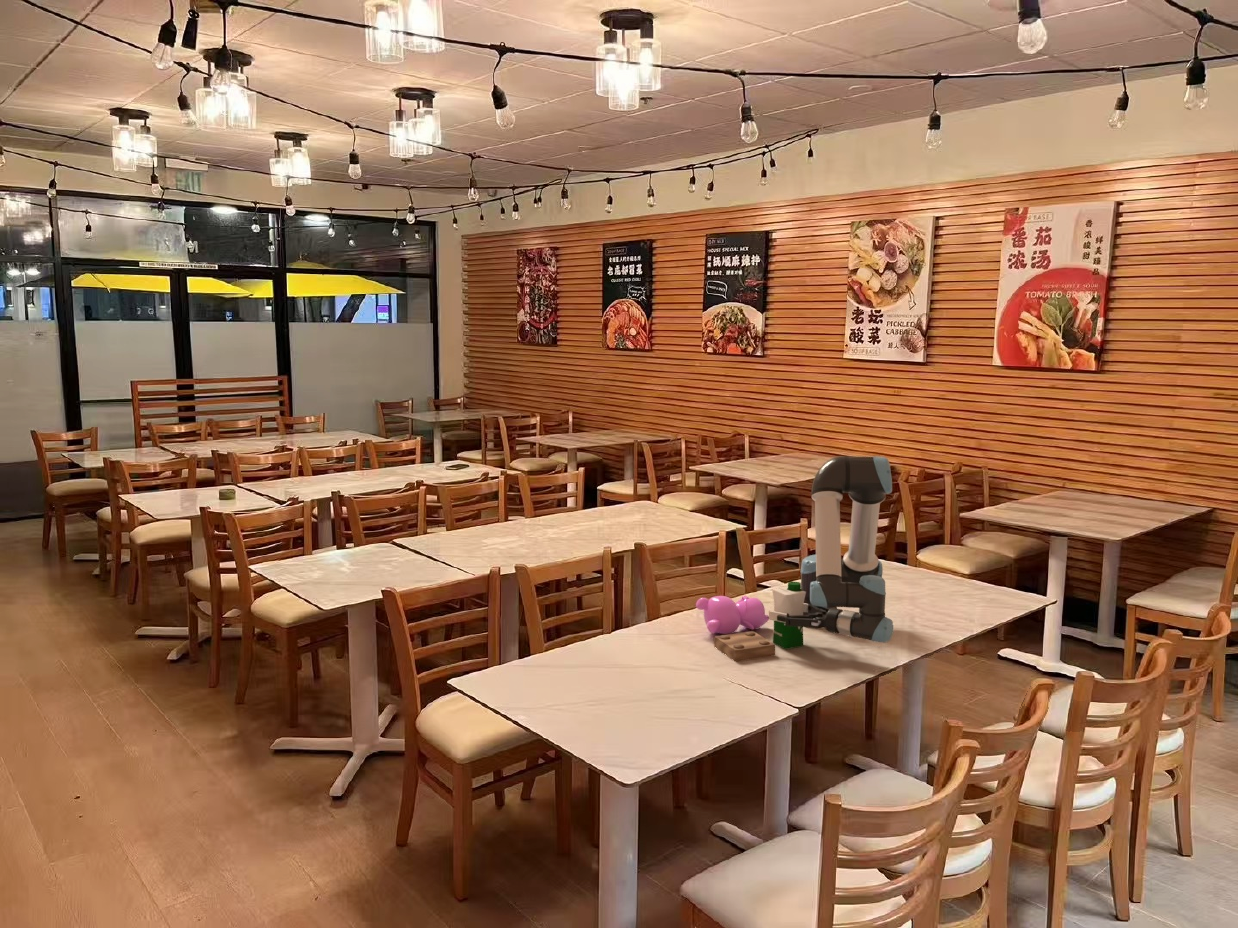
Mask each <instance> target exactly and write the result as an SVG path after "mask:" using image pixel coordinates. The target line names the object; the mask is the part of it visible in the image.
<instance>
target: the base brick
mask: <svg viewBox="0 0 1238 928" xmlns="http://www.w3.org/2000/svg"><path fill="white" fill-rule="evenodd" d="M713 641H714V642H713V643H714V645H713V646H714V648H715V647H716V648H717V649H716V648H715V649H716V650H718V651H719V652H720V651H721V653H722V654H723V653H724V654H723V655H725V654H726V655H727V656H726V655H725V656H726V657H728V658H729V659H731V660H732V659H733V660H734V662H735V661H736V662H742V661H741V660H743V661H749V660H754V659H761V658H768V657H775V656H776V644H774V643H773V641H770V640H768V639H767V638H765V637H763V636H762V635H760V634H758V632H755V631H754V630H751V631H744V632H743V631H742V632H737V633H731V634H721V635H716V636H714V640H713ZM774 655H775V656H774ZM748 659H749V660H748ZM733 660H732V661H733Z"/></svg>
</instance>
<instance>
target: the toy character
mask: <svg viewBox="0 0 1238 928" xmlns="http://www.w3.org/2000/svg"><path fill="white" fill-rule="evenodd" d="M695 607H696V609H697V610H699V611H703V619H704V622H705V625H706V628H707V631H708V632H709V633H711V634H712V635H715V633H716V634H721V635H728V634H734V633H735V632H736V631H737V630H738V629H739V627H740V626H742V627H744V628H746V629H750V630H751V631H754V630H758V629H760V628H761V627H762V626H764V625H765V624H766V623H768V621H770V620H769V614H766V609H765V606H764V603H763V602H762V600H760V599H759V598H758V597H749V596H747V595H743V596H741V598H740V599H739V600H738V601H736V602H735V600H734V599H732V598H731V597H728V596H726V595H716V596H712V597H710V598H709V599H708V598H706V597H701V598H699V599H697V601H696V603H695Z"/></svg>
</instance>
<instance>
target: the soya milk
mask: <svg viewBox="0 0 1238 928" xmlns="http://www.w3.org/2000/svg"><path fill="white" fill-rule="evenodd" d="M805 594H806V592H805V591H803V590H802V589H801V582H798V581H789V582H787V586H783V587H778V588H772V596H773V597H772V598H773V611H775V612H780V613H785V614H787V613H788V614H789V616H792V615H803V603H804V599H805ZM772 635H773V637H772V643H773V644H775V646H778V647H780V648H782V649H784V650H790V649H794V648H799V647H803V646H804V645H805V644H804V627H794V626H786V623H784V622H779V621H774V620H773V634H772Z"/></svg>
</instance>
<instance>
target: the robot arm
mask: <svg viewBox="0 0 1238 928" xmlns="http://www.w3.org/2000/svg"><path fill="white" fill-rule="evenodd" d="M891 469H892V468H891V464H890V460H889V459H888V458H887V457H885V456H875V455H873V456H854V455H853V456H847V455H845V456H844V455H838V456H833V457H831V458H830V459H828V460H827V461H826V462H824V463H823V464H822V466H820V467H819V469H818V471H817V472H816V474H815V476H814V478H813V481H812V485H811V499H812V500H813V501H814V521H815V526H814V527H815V554H812V555H811V554H810V555H807V556H806V557H804V558H803V559H802V560H801V565H800V566H801V568H800V577H801V578H800V583H801V589H802V590H803V591H805V592H806V594H805V599H804V603H803V615H792V616H789V614H788V613H787V614H785V613H780V612H775V611H774V610H769V611H768V616H769V620H768V621H773V622H774V621H779V622H784V623H786V626H794V627H803V628H812V629H826V631H827V632H828V633H833V634H840V635H843V636H848V638H852V637H853V638H857V639H862V640H867V641H871V642H877V643H883V644H884V643H888V642H889V641H890V640H891V639H892V636H893V633H894V622H893V620H892V619H891V618H889V617H887V616H886V610H885V609H886V595H887V593H886V581H885V579H884V578H883V573H884V572H883V571H884V569H883V563H882V561H881V560H879V558H878V556H877V555H876V554H875V553H876V547H877V546H876V544H877V537H878V526H879V517H880V508H881V507H880V505H881V503H882V502H884V501H885V500H886V496H887V495H889V494H891V493H892V492H893V479H892V473H891ZM843 493H844V494H845V493H846V494H848V496H849V498H850V499H851V500H852V504H851V505H852V506H851V507H852V508H851V519H850V527H849V529H850V530H849V542H848V550H847V551H846V552H845V553H844V555H843V557H842V548H841V547H842V546H841V544H842V541H841V540H842V539H841V538H842V537H841V512H840V511H841V510H840V509H841V508H840V502H841V501H842V500H843V497H844V494H843ZM842 608H850V609H851V608H853V609H858V612H857V611H852V610H848V609H847V610H846V609H844V610H843V609H842Z"/></svg>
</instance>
